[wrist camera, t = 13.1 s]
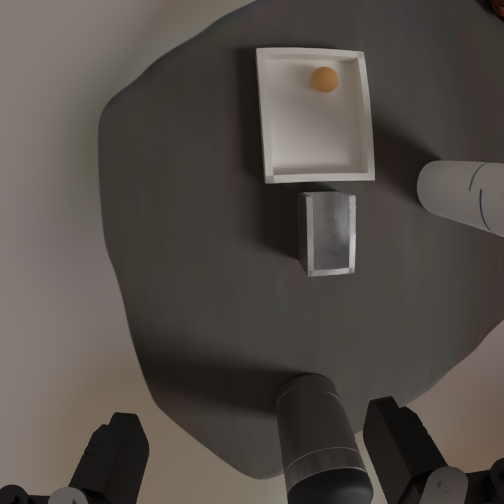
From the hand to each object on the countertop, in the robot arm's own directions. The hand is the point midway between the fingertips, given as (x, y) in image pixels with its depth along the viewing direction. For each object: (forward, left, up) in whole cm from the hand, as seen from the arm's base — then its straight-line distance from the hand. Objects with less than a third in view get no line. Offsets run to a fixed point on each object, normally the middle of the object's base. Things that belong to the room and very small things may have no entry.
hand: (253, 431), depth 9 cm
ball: (+6, -20, -26) cm, 33 cm away
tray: (+4, -16, -28) cm, 33 cm away
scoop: (-5, -7, -28) cm, 30 cm away
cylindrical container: (-14, -22, -28) cm, 39 cm away
